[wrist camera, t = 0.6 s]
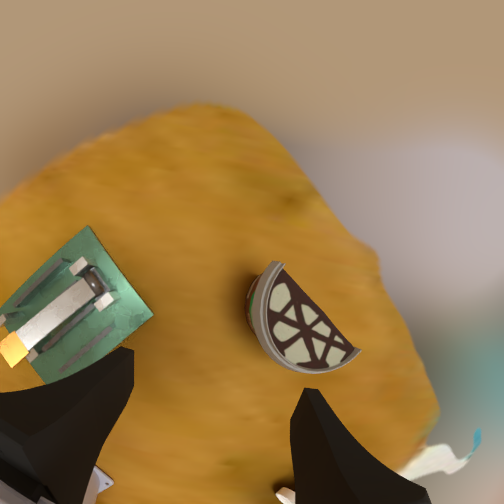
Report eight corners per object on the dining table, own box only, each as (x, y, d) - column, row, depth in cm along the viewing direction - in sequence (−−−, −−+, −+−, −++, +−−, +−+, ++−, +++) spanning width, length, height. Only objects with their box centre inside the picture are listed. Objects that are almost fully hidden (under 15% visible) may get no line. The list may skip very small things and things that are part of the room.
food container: (210, 304, 33) (227, 312, 23) (249, 266, 34) (280, 258, 25) (283, 375, 34) (322, 403, 24) (317, 338, 36) (364, 353, 26)
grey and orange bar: (90, 271, 26) (90, 268, 25) (104, 291, 26) (105, 289, 25) (-1, 346, 19) (-4, 345, 18) (14, 367, 19) (11, 368, 18)
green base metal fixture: (90, 226, 30) (75, 215, 25) (154, 313, 31) (150, 319, 26) (0, 311, 26) (-24, 314, 20) (59, 393, 27) (42, 410, 21)
